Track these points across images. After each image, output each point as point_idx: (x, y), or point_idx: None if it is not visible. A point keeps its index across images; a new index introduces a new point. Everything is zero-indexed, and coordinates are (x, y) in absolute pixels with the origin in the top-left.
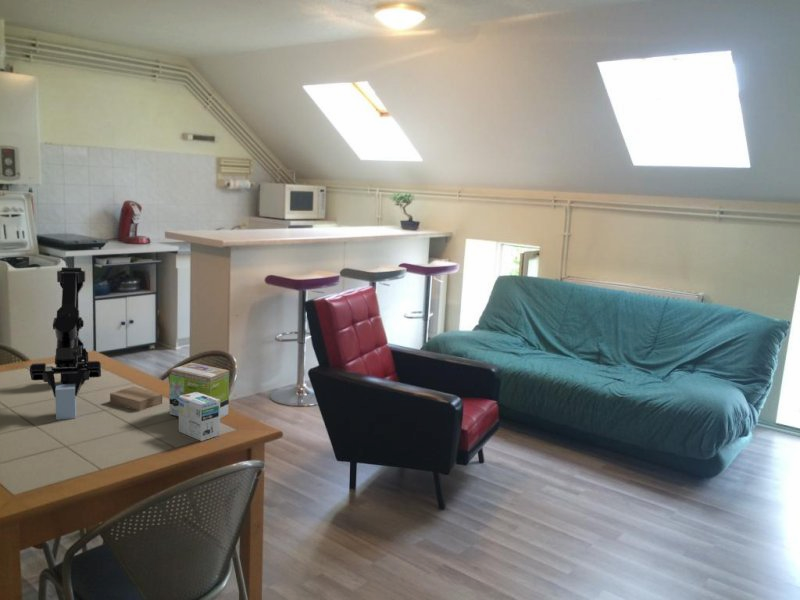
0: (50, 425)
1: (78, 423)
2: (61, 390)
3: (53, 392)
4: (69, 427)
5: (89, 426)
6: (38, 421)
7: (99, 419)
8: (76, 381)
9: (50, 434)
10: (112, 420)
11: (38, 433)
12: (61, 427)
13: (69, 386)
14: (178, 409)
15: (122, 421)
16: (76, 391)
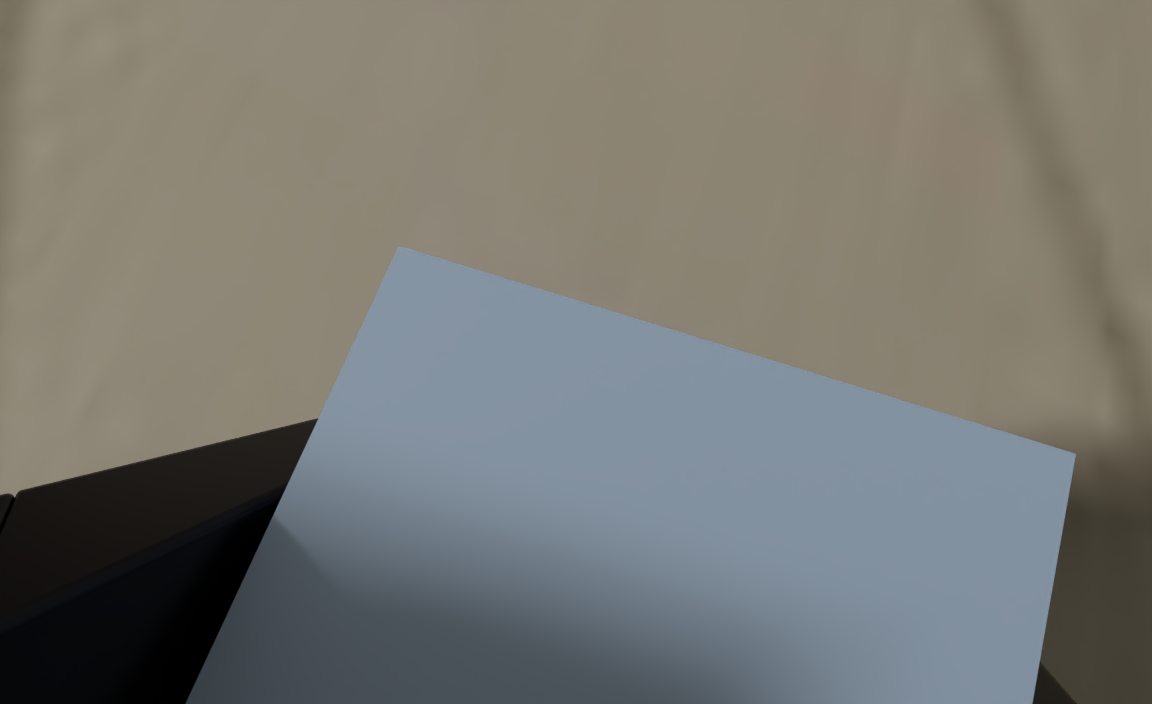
0: (944, 370)
1: (552, 248)
2: (837, 399)
3: (1058, 692)
4: (710, 157)
5: (467, 70)
6: (1113, 681)
7: (235, 260)
8: (68, 588)
9: (991, 35)
10: (116, 135)
11: (1141, 138)
12: (810, 209)
13: (456, 646)
14: None
15: (38, 42)
16: None
